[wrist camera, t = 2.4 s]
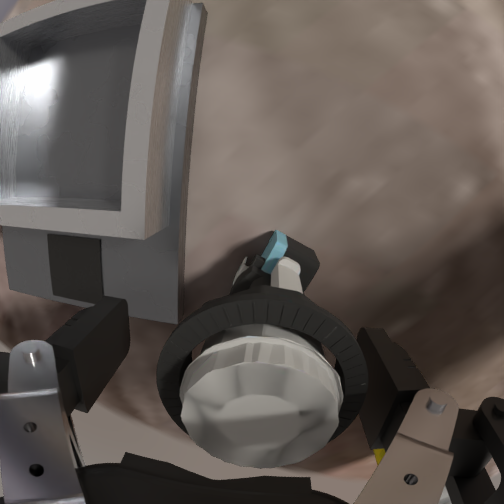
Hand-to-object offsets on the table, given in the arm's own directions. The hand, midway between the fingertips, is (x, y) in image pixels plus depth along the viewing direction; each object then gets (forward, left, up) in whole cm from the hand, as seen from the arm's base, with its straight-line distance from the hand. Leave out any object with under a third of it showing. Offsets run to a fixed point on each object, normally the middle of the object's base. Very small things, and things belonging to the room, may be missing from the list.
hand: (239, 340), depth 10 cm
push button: (-1, 0, -6) cm, 6 cm away
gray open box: (+9, -6, -6) cm, 12 cm away
